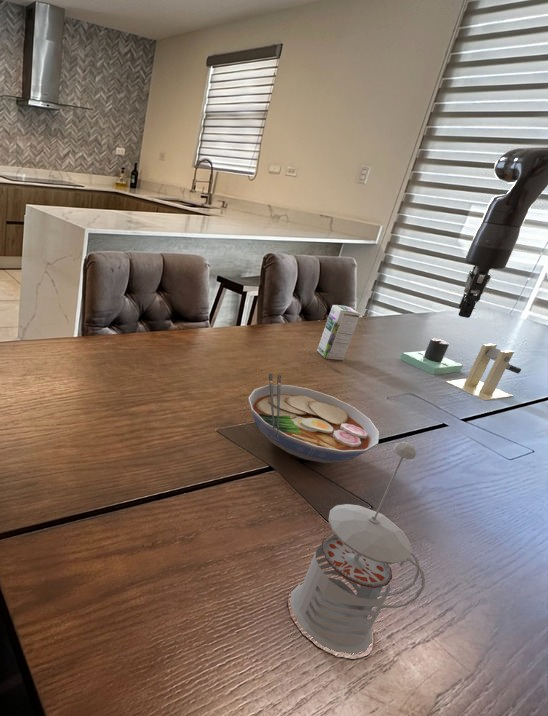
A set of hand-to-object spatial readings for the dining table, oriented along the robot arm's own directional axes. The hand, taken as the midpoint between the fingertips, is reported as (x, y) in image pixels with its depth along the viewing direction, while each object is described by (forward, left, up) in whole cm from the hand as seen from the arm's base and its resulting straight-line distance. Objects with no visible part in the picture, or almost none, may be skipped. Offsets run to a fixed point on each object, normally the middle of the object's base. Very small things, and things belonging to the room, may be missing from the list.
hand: (463, 312), depth 111 cm
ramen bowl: (+54, +11, -22) cm, 59 cm away
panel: (-17, -12, -22) cm, 30 cm away
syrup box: (+9, -24, -22) cm, 33 cm away
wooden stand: (-16, +2, -22) cm, 27 cm away
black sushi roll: (-17, -12, -19) cm, 28 cm away
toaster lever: (-20, +2, -14) cm, 24 cm away
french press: (+77, +41, -22) cm, 90 cm away
